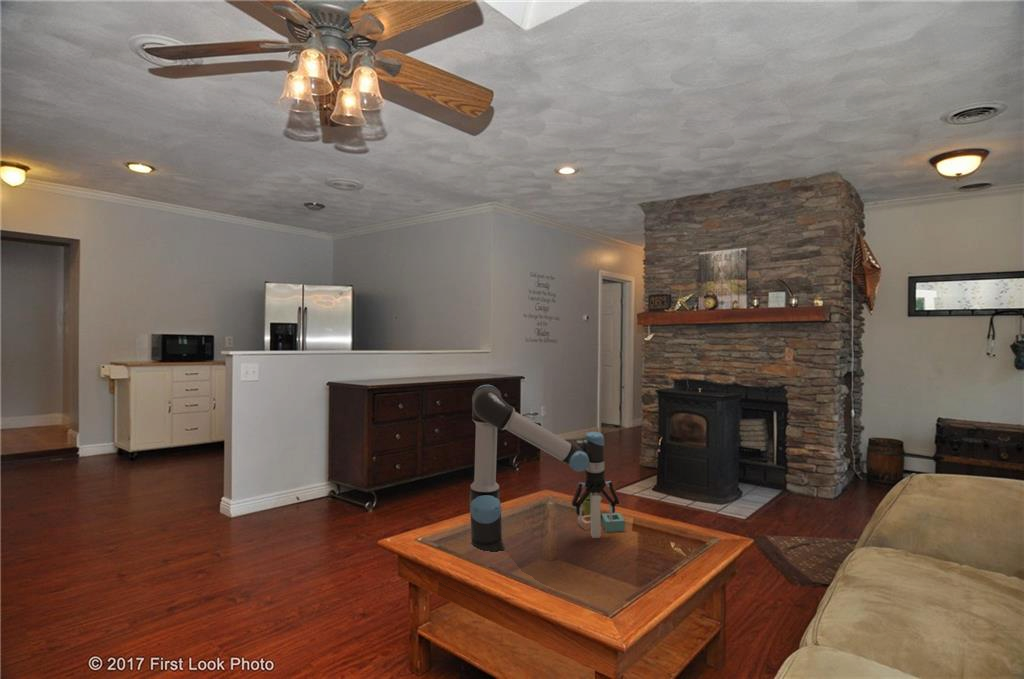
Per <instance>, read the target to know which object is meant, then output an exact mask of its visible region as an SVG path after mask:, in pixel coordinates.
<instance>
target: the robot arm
mask: <svg viewBox="0 0 1024 679" xmlns="http://www.w3.org/2000/svg"><path fill="white" fill-rule="evenodd" d="M471 396H472V397H471V402H472V411H471V412H472V414H471V416H472V417H471V418H472V421H473V422H474V423H475V446H474V447H475V448H474V477H473V480H474V481H473V482H472V483H471V484H470V489H469V490H470V492H469V498H468V499H469V502H468V504H469V513H470V514H469V515H470V533H471V534H470V535H471V537H470V538H471V541H470V545H471V544H472V545H473V546H474V547H476V548H478V549H480V550H483V551H490V552H498V551H504V550H505V549H506V547H505V544H504V542H503V529H502V526H503V524H502V511H503V510H502V504H501V501H500V484H498V483H497V481H496V480H497V478H496V477H497V453H498V450H497V449H498V429H499V430H500V431H504V430H506V431H508V432H510V433H512V434H513V435H515V436H517V437H518V438H520V439H522V440H523V441H525V442H528V443H529V444H531V445H533V446H535V448H538V449H540V450H541V451H543V452H545V453H547V454H549V455H550V456H552V457H554V458H556V459H557V460H559V461H561V462H563V463H564V464H566V465H568V466H569V467H570V468H571V469H572V470H573V471H575V472H576V473H582V472H584V471H585V482H582V481H579V482H577V488H576V491H575V493H574V495H573V498H572V500H571V505H572V507H575V512H576V515H578V517H579V522H580V523H582V516H583V515H582V514H583V513H582V512H583V510H582V509H583V507H582V506H583V504H582V503H583V502H584V500H585V499H586V498H587V496H588V495H589V494H590V493H595V492H597V493H599V494H601V493H602V495H603V496H604V497H605V498H606V499H607V501H608V502H609V504H608V508H609V509H608V513H609V519H610V521H611V522H613V521H612V513H616V511H615V510H616V505H619V504H620V500H619V499H618V498H619V497H617V494H616V492H615V489H614V488H613V487H614V486H613V482H612V480H608V481H605V437H604V436H605V435H604V434H602V433H601V432H599V431H590V432H587V433H585V434H584V435H585V436H584V437H583V438H570V439H568V438H567V439H566V438H562V437H560V436H559V435H557V434H555V433H553V432H551V431H550V430H548V429H547V428H544V427H543V426H541V425H540V424H538V423H535V421H532V420H530V419H529V418H527V417H525V416H524V415H522V414H521V413H519V412H517V411H516V409H515V407H514V406H512V405H510V404H509V403H507V402H506V401H505V400H504V399H503V397H502V393H501V391H500V390H499V389H498V388H497V387H495V386H494V385H491V384H483V385H480V386H478V387H477V388H476V389H475V390H474V392H473V394H472V395H471ZM584 487H585V490H584V492H583V493H582V491H583V489H584ZM605 487H608V488H609V490H610V493H611V496H612V497H613V499H612V498H611V496H610V495H609V494H608V493H607V491H606V490H605ZM581 493H582V495H581ZM580 495H581V496H580Z"/></svg>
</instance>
